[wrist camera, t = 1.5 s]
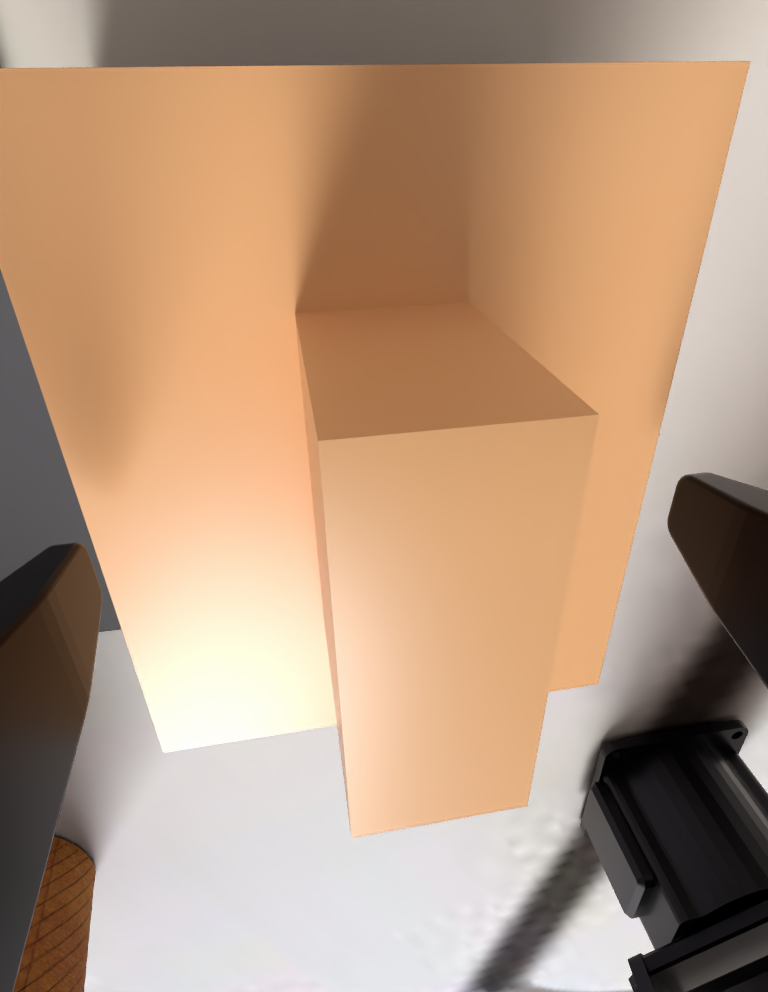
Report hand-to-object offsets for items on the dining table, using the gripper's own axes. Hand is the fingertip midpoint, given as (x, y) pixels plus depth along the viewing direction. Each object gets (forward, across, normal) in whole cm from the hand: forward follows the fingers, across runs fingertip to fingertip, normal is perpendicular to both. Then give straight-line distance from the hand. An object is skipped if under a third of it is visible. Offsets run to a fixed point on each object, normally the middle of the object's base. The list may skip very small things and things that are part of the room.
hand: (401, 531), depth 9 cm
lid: (+3, 0, 0) cm, 3 cm away
